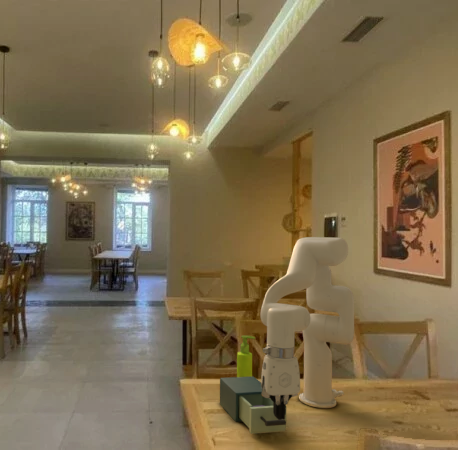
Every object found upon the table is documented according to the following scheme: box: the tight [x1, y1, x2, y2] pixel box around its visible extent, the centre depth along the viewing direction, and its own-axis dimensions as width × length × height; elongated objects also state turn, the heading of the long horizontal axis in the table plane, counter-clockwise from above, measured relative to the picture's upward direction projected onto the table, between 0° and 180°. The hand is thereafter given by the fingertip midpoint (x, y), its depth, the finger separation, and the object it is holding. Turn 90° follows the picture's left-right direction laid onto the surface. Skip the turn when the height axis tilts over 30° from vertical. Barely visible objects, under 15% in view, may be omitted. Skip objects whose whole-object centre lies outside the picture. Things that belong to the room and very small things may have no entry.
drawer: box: [238, 394, 287, 435], centre depth 128 cm, size 18×11×7 cm, turn 12°
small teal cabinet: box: [219, 375, 262, 423], centre depth 140 cm, size 15×13×9 cm
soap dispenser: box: [236, 335, 256, 377], centre depth 164 cm, size 6×7×20 cm
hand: (279, 417), depth 117 cm, fingers closed
